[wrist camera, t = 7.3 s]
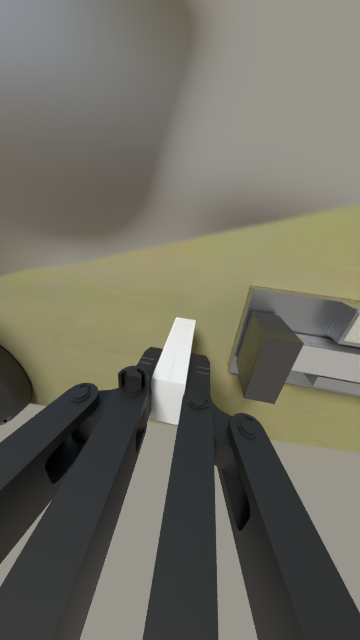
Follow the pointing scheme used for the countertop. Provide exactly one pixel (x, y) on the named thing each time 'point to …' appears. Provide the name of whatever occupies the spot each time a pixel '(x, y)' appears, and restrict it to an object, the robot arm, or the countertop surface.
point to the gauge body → (306, 328)
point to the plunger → (288, 357)
